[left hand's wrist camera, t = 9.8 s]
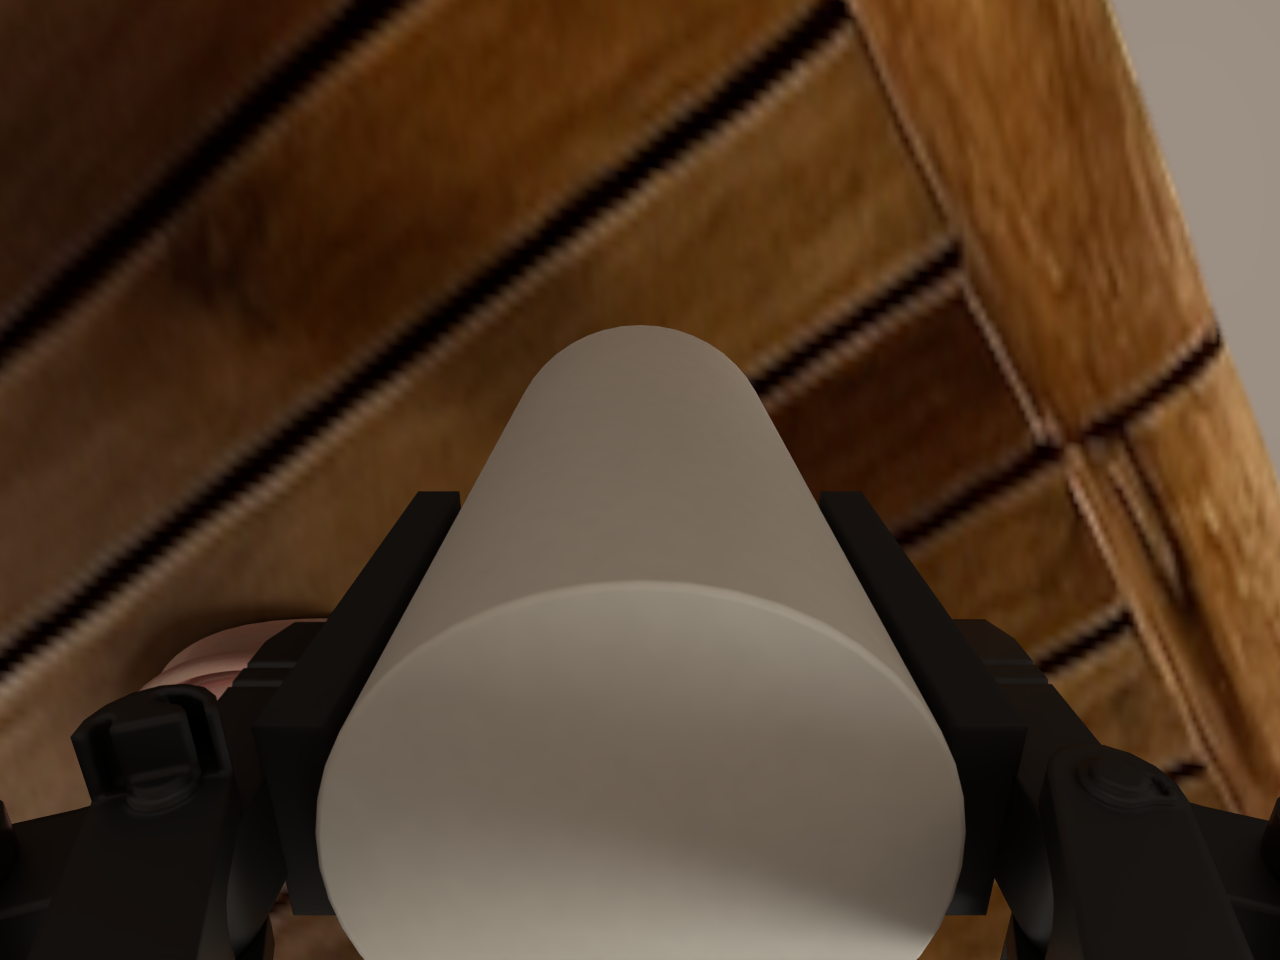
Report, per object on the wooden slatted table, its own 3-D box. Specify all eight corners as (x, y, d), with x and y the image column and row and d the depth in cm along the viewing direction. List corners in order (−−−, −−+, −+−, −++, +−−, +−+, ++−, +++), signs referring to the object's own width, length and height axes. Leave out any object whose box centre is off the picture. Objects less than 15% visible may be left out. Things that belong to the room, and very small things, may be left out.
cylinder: (502, 325, 19) (256, 583, 7) (777, 324, 19) (1022, 582, 7) (518, 569, 21) (359, 1080, 9) (761, 568, 21) (922, 1079, 9)
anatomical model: (497, 741, 28) (393, 944, 32) (513, 676, 32) (419, 864, 35) (131, 603, 26) (66, 837, 30) (195, 550, 30) (130, 765, 33)
